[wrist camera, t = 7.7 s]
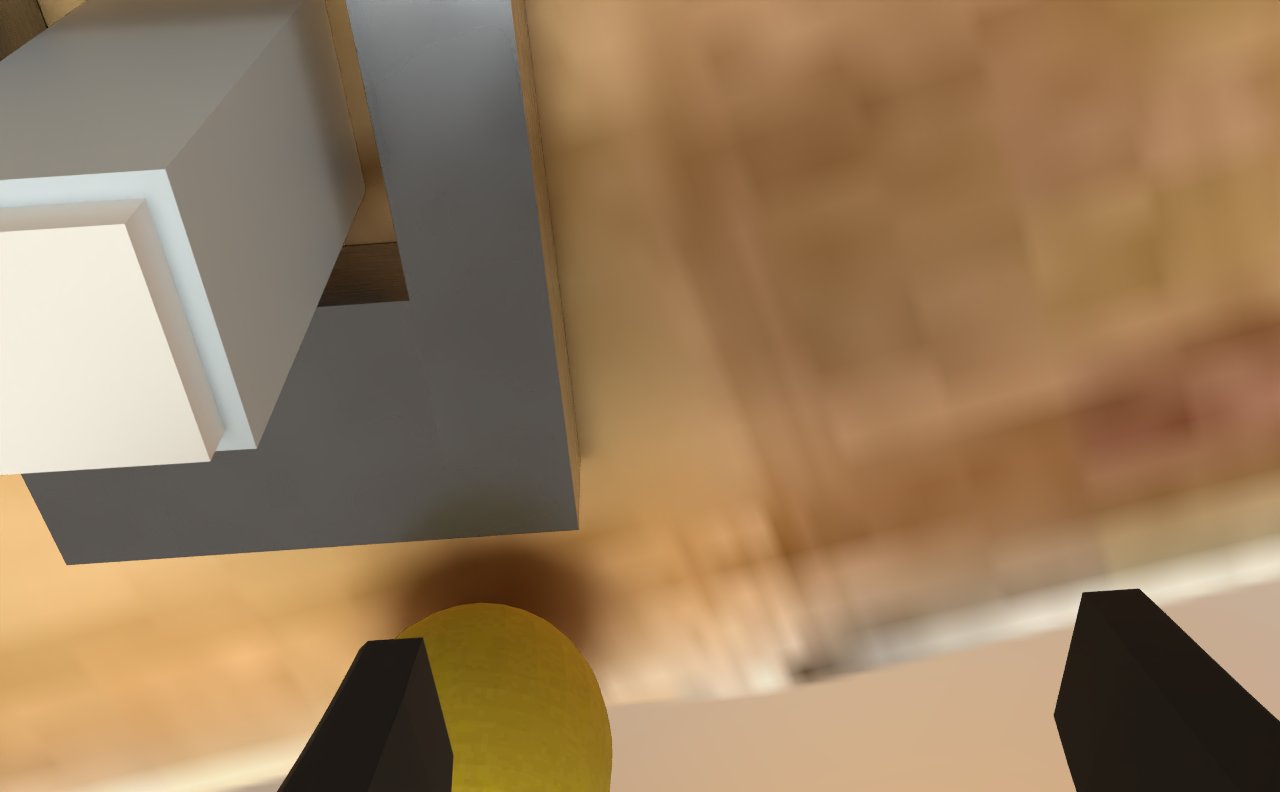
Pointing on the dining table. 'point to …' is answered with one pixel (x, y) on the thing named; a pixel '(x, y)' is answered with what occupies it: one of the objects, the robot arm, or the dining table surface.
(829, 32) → the dining table surface
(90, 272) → the plug
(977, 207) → the dining table surface
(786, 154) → the dining table surface
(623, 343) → the dining table surface
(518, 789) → the lemon
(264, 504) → the port panel
